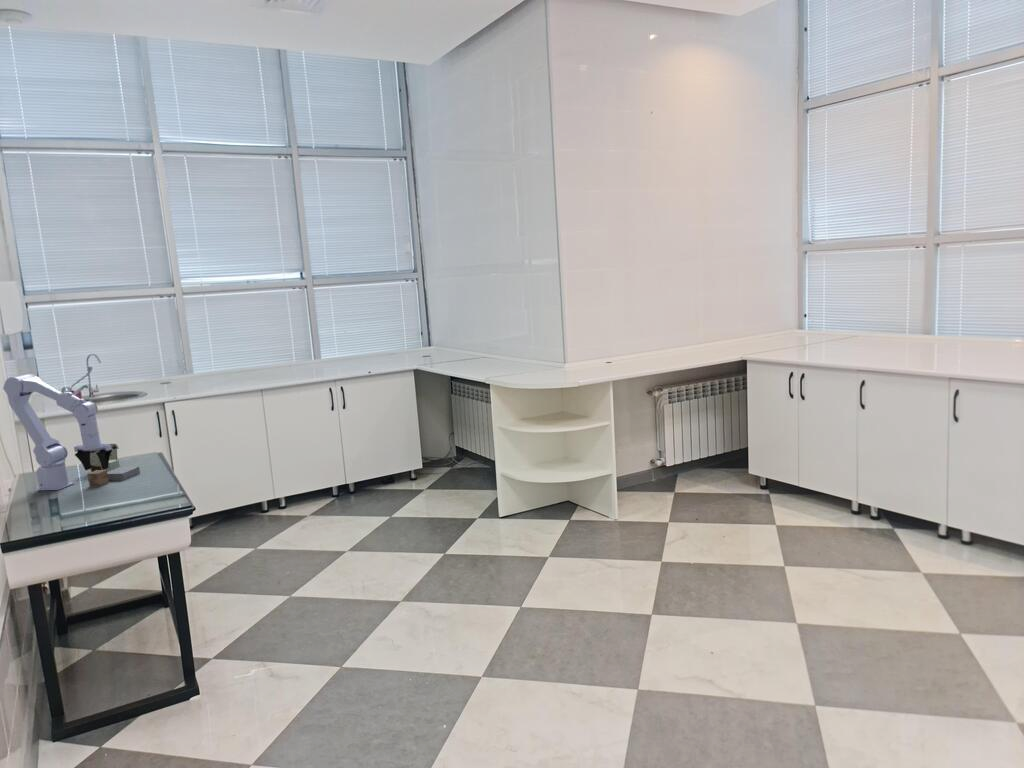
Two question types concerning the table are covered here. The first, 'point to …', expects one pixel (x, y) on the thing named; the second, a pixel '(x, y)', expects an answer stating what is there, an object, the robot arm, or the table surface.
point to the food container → (96, 461)
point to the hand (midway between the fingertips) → (96, 469)
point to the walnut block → (98, 478)
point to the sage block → (112, 465)
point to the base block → (122, 473)
